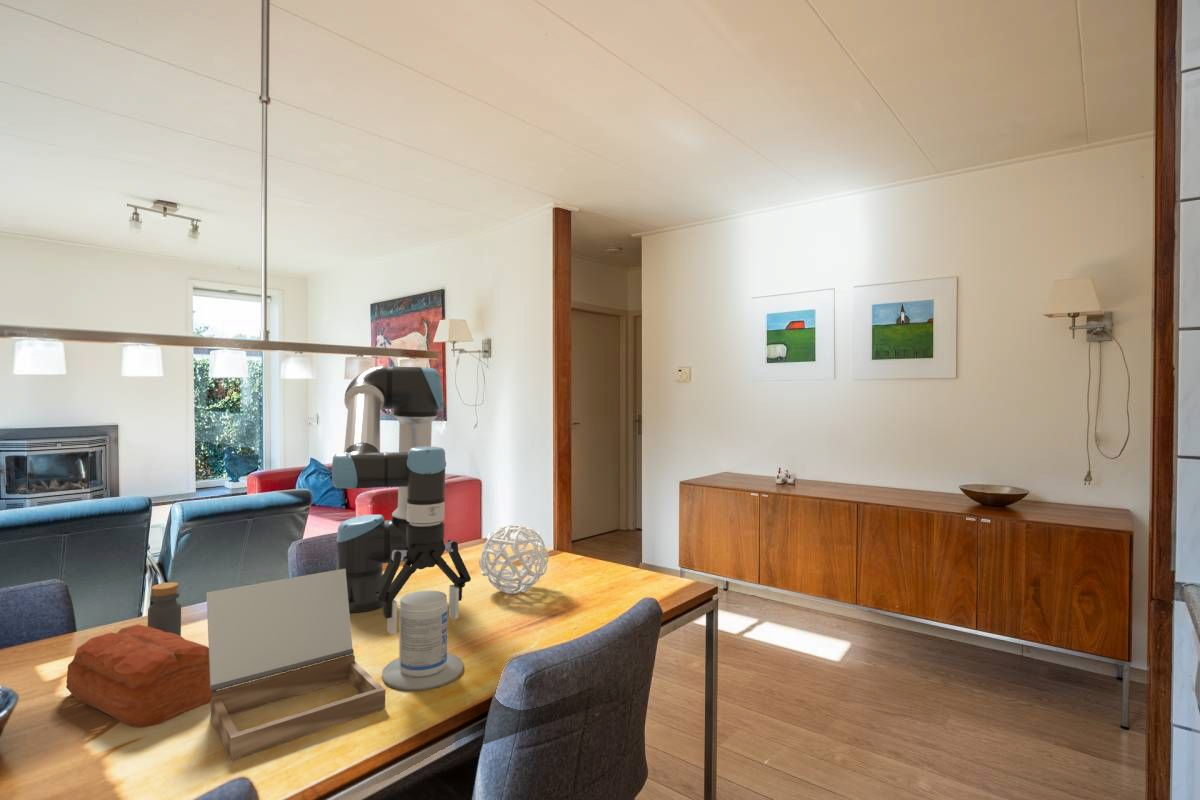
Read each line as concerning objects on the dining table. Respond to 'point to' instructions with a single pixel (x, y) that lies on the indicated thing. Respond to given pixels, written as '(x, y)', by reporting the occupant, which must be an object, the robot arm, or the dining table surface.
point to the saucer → (409, 683)
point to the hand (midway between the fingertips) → (423, 624)
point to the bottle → (165, 608)
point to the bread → (141, 675)
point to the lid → (277, 627)
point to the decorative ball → (513, 558)
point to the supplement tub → (423, 633)
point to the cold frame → (287, 687)
